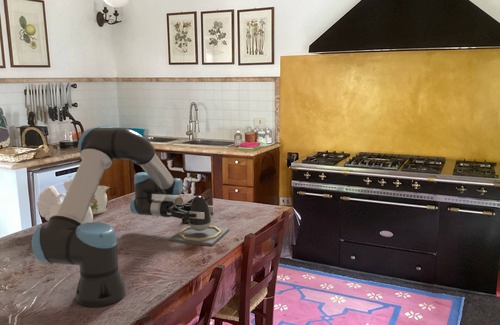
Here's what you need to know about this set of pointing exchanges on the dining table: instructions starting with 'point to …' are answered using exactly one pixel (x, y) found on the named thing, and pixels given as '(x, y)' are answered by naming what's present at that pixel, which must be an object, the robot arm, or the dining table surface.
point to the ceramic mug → (174, 199)
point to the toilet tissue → (158, 196)
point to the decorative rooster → (56, 202)
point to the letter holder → (209, 202)
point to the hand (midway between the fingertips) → (208, 212)
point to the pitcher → (99, 200)
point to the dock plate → (200, 235)
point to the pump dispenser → (200, 206)
